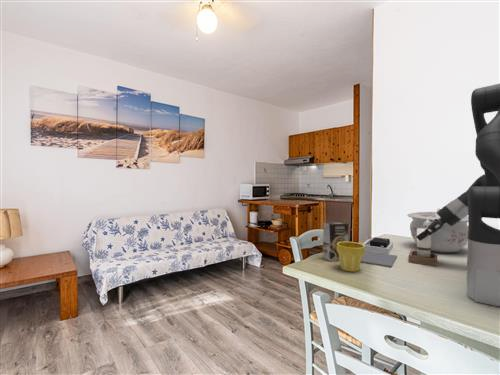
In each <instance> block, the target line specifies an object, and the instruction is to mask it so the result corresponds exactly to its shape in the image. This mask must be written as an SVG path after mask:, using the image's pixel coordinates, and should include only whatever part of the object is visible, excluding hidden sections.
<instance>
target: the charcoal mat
mask: <svg viewBox="0 0 500 375" xmlns="http://www.w3.org/2000/svg"><path fill="white" fill-rule="evenodd" d="M397 258H398V255H395V254H390V253H389V254H385V253H378V252H371V251H365V252H364V255H363V256H362V259H361V263H363V264H369V265H373V266H379V267H386V268H392V267H393V265H394V264H395V262H396V260H397ZM361 263H360V264H361Z"/></svg>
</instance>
